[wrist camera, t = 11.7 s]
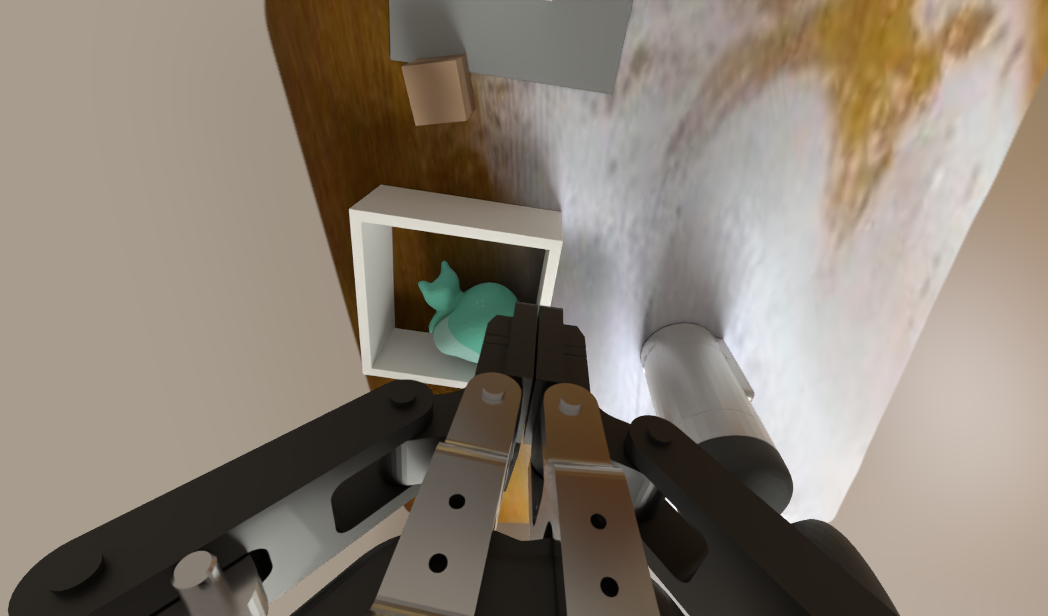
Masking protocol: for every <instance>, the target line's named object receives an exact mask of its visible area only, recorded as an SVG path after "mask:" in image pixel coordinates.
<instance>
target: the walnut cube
mask: <svg viewBox="0 0 1048 616" xmlns="http://www.w3.org/2000/svg"><path fill="white" fill-rule="evenodd" d="M401 68H402V72H403V76H404V80H405V84H406V88H407V92H408V96H409V100H410V104H411V109H412V113H413V117H414V121H415V125H416V126H419V125H429V124H440V123H450V122H460V121H467V120H468V118H469V117H470V116H471V114H472V113H473V112H474V110H475V103H474V97H473V91H472V85H471V79H470V72H469V66H468V60H467V54H457V55H449V56H440V57H432V58H423V59H416V60H414V61H412V62H410V63H408V64H406V65H403V66H401Z"/></svg>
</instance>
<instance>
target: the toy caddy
mask: <svg viewBox="0 0 1048 616" xmlns="http://www.w3.org/2000/svg"><path fill="white" fill-rule="evenodd" d="M349 216H350V227H351V239H352V251H353V263H354V274H355V286H356V298H357V310H358V322H359V333H360V345H361V357H362V369H363V374H366V375H373V376H380V377H387V378H394V379H401V380H402V379H409V380H416V381H419V382H421V383H428V384H435V385H442V386H449V387H456V388H462V389H463V388H465V387H466V386H467V384H468V382H469V381H470V380H471V379H472V378H473V377H474V376H475V372H476V368H477V364H478V363H475V362H470V361H467V360H465V359H462V358H459V357H454V356H449V355H447V354H444V353H442V352H441V351H440V350H439V349H438V348H437V347H436V345H435V342H434V334H433V333H426V332H420V331H413V330H406V329H399V328H395V311H394V279H393V247H392V226H394V227H401V228H407V229H414V230H421V231H427V232H434V233H440V234H447V235H454V236H460V237H467V238H474V239H480V240H487V241H493V242H500V243H507V244H513V245H520V246H527V247H533V248H540V249H545V255H544V261H543V267H542V272H541V278H540V284H539V290H538V295H537V301H536V305H538V311H539V307H540V305H543V306H550V304H551V299H552V294H553V289H554V284H555V279H556V274H557V269H558V264H559V258H560V253H561V248H562V243H563V232H562V212H558V211H551V210H545V209H538V208H532V207H525V206H519V205H512V204H505V203H499V202H492V201H486V200H479V199H473V198H466V197H459V196H453V195H446V194H440V193H433V192H427V191H420V190H414V189H407V188H400V187H394V186H387V185H380V186H378V187H377V188H376V189H375V190H373V191H372V192H371V193H369V194H368V195H367V196H365V197H364V198H363V199H361V200H360V201H359V202H357V203H356V204H355V205H353V206H352V207H351V208H350V209H349ZM537 317H538V316H537Z"/></svg>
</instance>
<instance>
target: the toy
mask: <svg viewBox="0 0 1048 616" xmlns="http://www.w3.org/2000/svg"><path fill="white" fill-rule="evenodd" d="M418 285H419V288H420V290H421V291H422V293H423V295H424V298H425V301H426V302H427V303H428V304H429V305H430V306H431V307H433V308H434V309H436V314H435V315H434V317H433V318H432V320H431V322H430V324H429V332H430V333H433V332H434V342H435V345H436V347H437V348H438V349H439V350H440V351H441V352H442V353H444V354H447V355H449V356H454V357H459V358H462V359H465V360H467V361H470V362H475V363H478V360H479V356H480V352H481V348H482V344H483V340H484V336H485V332H486V328H487V324H488V322H489V321H490V320H491V319H492V318H494V317H495V316H496V315H504V316H510V317H513V315H514V309H515V303H516V302H519V301H518V300H517V298H516V297H515V295H514V294H513V293H512V292H511V291H510V290H509V289H508V288H506V287H504V286H502V285H500V284H497V283H490V282H489V283H482V284H479V285H476V286H474V287H472V288H470V289H468V290H466V291H465V292H462V291H461V290H460V287H459V279H458V276H457V275H456V273H455V272H454V271H453V270H452V269H451V268H450V267H449V265H448V263H447V262H446V261H443V262H442V263H441V274H440V276H439V277H438V278H437V279H436V280H435V281H434V282H433V283H429V282H427V281H420V282H419V283H418Z"/></svg>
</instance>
